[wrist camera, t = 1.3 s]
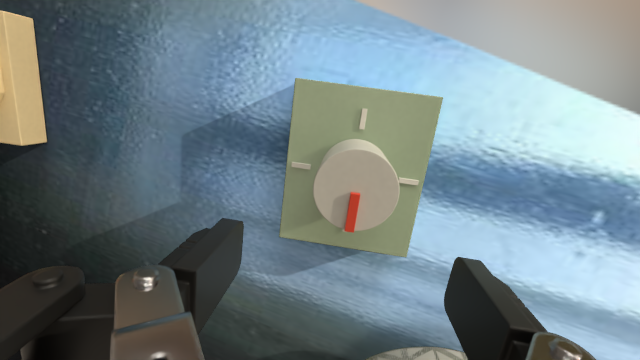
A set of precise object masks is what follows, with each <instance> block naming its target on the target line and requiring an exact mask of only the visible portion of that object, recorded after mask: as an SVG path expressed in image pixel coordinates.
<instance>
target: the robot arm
mask: <svg viewBox="0 0 640 360" xmlns="http://www.w3.org/2000/svg"><path fill="white" fill-rule="evenodd" d="M243 229H244V225H243V222H242V221H238V220H232V219H226V218H222V219H221V220H220V221H219V222H218V223H217V224H216V225H214V226H213V227H212V228H211V229H208V228H205V229H203V230H201V231H198V232H196V233H194V234H193V235H191V236H190V237H189V238H188V239H187V240H186V242H183V243H182V244H181V245H180V246H179V248H178V247H177V248H176V249H175V250H174V251H173V252H172V253H170V254H169V255H168V256H167V257H166V258H165V259H163V260H162V261H161V262H160V263H159V264H158V265H156V264H153V265H143V266H139V267H135V268H133V269H130V270H128V271H126V272H125V273H123V274H122V275H120V276H119V277H118V279H117V280H116V282H115V283H90V284H85V283H84V273H83V271H82V270H81V269H80V268H77V267H74V266H53V267H48V268H43V269H39V270H36V271H33V272H31V273H28V274H26V275H24V276H22V277H20V278H19V279H17V280H15V281H13V282H12V283H10V284H8V285H6V286H5V287H3V288H1V289H0V360H8V359H9V358H10V357H11V356H12V355H14V354H15V353H16V352H17V351H19V350H21V356H22V359H21V360H204V357H203V353H202V349H201V346H200V342H199V339H198V334H199V333H200V331H201V330H202V328H203V327H204V325H205V324H206V322H207V320H208V319H209V317H210V316H211V314H212V313H213V311H214V309H215V308H216V306H217V305H218V303H219V302H220V300H221V298H222V297H223V295H224V294H225V292H226V291H227V289H228V288H229V286H230V284H231V283H232V281H233V280H234V278H235V277H236V275H237V273H238V271H239V268H240V264H241V257H242V243H243ZM444 306H445V311H446V313H447V315H448V318H449V320H450V322H451V324H452V326H453V328H454V331H455V333H456V335H457V337H458V339H459V341H460V344H461V346H462V348H463V350H464V352H465V354H466V357H467V359H468V360H596V359H595V358H594V357H593V356H592V355H591V354H590V353H589V352H587V351H586V350H585V349H583V348H582V347H580V346H579V345H577V344H576V343H574V342H572V341H570V340H569V339H566V338H564V337H562V336H559V335H557V334H553V333H549V332H547V330H546V329H545V328H544V327H543V326H542V325H541V323H540V322H539V321H538V320H537V319H536V318H535V317H534V315H533V314H532V313H531V312H530V311H529V310H528V308H527V307H525V305H524V304H523V303H522V301H521V300H520V299H518V298H517V296H516V294H515V293H514V292H513V291H512V290H511V289H510V287H509V286H507V285H506V284H505V283H503V282H502V281H500V280H499V279H498V278H496V277H495V276H493V275H492V274H491V272H490V271H489V270H488V269H487V268H486V266H485V265H484V264H483V263H482V262H481V261H480V260H474V259H468V258H462V257H457V258H456V259H455V261H454V264H453V267H452V271H451V274H450V278H449V281H448V285H447V288H446V292H445V297H444Z"/></svg>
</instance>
